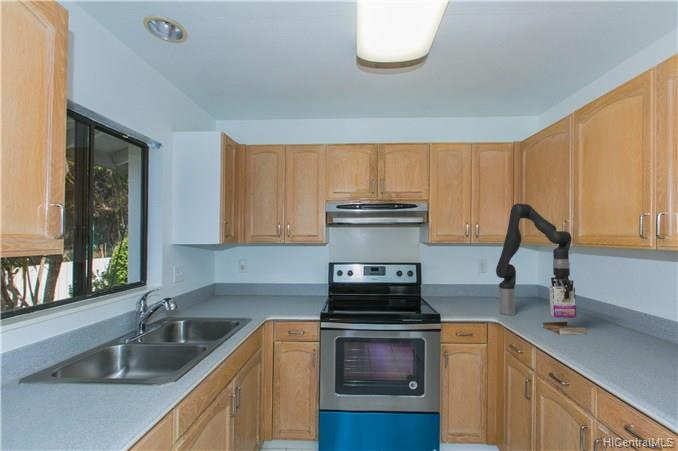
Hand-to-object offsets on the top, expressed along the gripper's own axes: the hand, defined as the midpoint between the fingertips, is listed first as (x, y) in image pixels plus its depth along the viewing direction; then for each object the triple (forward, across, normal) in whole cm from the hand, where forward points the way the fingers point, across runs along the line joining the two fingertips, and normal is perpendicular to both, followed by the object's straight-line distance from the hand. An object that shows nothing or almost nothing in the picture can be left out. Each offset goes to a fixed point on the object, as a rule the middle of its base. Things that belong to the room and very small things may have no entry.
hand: (562, 297), depth 179 cm
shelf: (+18, 0, 0) cm, 18 cm away
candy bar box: (+11, 0, 0) cm, 11 cm away
